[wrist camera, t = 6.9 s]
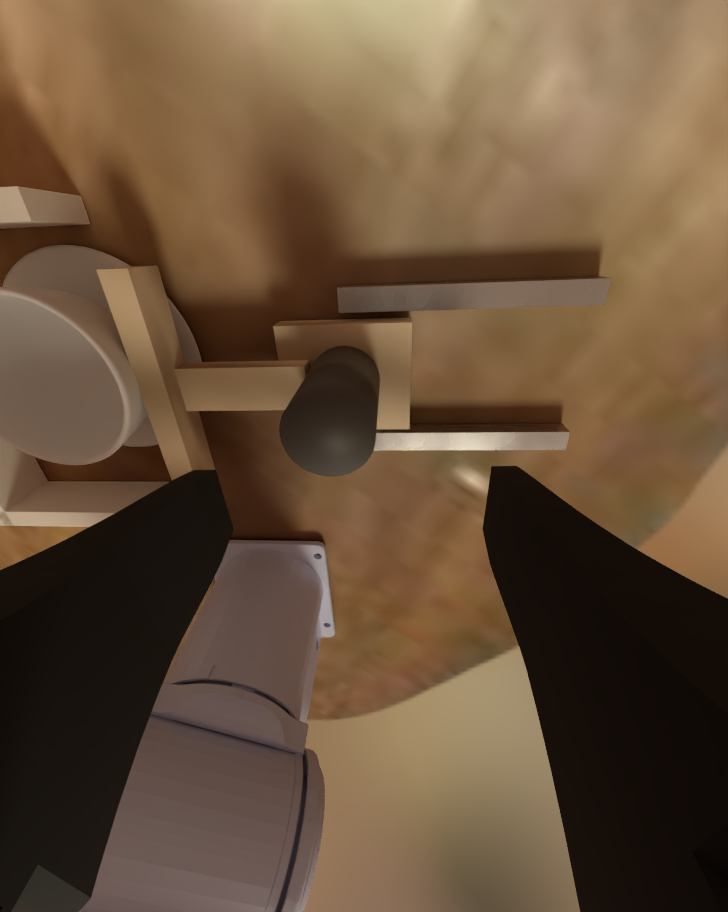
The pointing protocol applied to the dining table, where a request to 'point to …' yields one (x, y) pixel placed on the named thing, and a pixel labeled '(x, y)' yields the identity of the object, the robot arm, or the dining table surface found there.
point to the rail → (474, 297)
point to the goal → (18, 474)
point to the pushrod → (266, 380)
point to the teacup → (69, 360)
